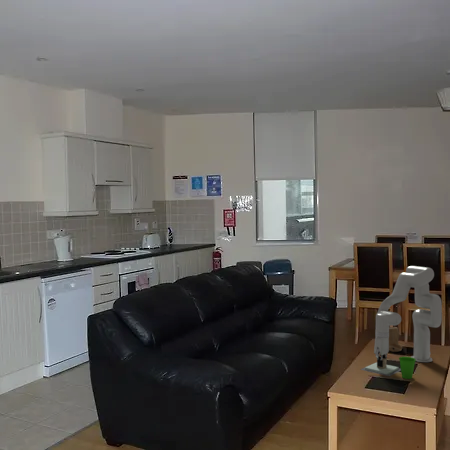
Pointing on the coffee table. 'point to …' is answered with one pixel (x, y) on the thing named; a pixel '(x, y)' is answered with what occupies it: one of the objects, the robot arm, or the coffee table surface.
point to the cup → (407, 367)
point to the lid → (382, 368)
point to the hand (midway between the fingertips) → (381, 365)
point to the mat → (381, 373)
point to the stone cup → (394, 339)
